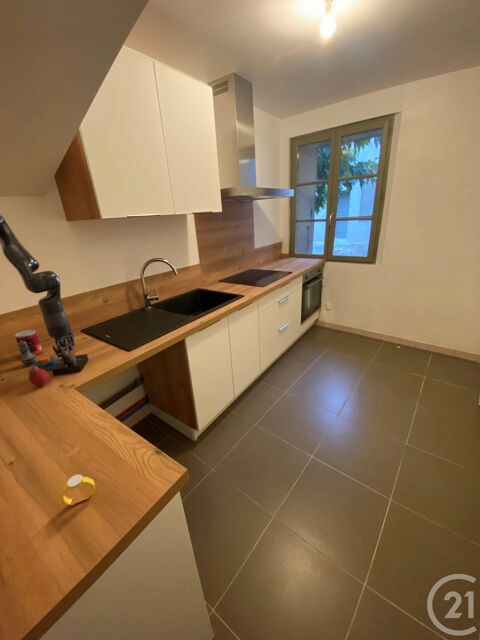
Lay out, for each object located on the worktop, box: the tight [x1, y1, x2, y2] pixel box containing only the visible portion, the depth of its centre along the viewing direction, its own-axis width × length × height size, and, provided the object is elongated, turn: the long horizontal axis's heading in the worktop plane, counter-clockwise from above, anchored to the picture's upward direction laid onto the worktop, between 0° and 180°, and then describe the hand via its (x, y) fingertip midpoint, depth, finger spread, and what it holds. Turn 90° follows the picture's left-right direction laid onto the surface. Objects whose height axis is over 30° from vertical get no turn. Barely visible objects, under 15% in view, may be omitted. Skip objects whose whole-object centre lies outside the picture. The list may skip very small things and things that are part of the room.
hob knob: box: [63, 349, 76, 363], centre depth 108 cm, size 4×4×5 cm
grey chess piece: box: [17, 340, 39, 368], centre depth 112 cm, size 6×6×12 cm
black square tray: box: [51, 353, 89, 377], centre depth 109 cm, size 10×10×3 cm
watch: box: [60, 474, 96, 506], centre depth 55 cm, size 6×3×6 cm, turn 117°
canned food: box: [14, 329, 43, 357], centre depth 122 cm, size 8×8×11 cm
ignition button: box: [38, 355, 51, 363], centre depth 110 cm, size 4×4×2 cm
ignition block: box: [28, 356, 61, 375], centre depth 111 cm, size 10×8×3 cm
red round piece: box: [28, 367, 50, 387], centre depth 97 cm, size 6×6×8 cm
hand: (70, 360), depth 109 cm, fingers closed on hob knob, 4 cm apart
